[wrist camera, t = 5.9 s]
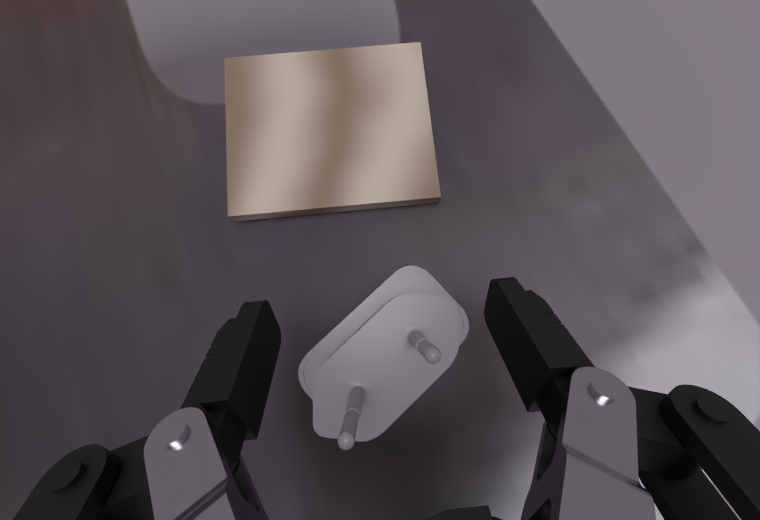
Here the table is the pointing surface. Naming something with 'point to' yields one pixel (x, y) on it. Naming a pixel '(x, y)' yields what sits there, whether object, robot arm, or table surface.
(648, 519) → the robot arm
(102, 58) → the table surface
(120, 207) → the table surface
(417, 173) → the birch board
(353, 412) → the power adapter
